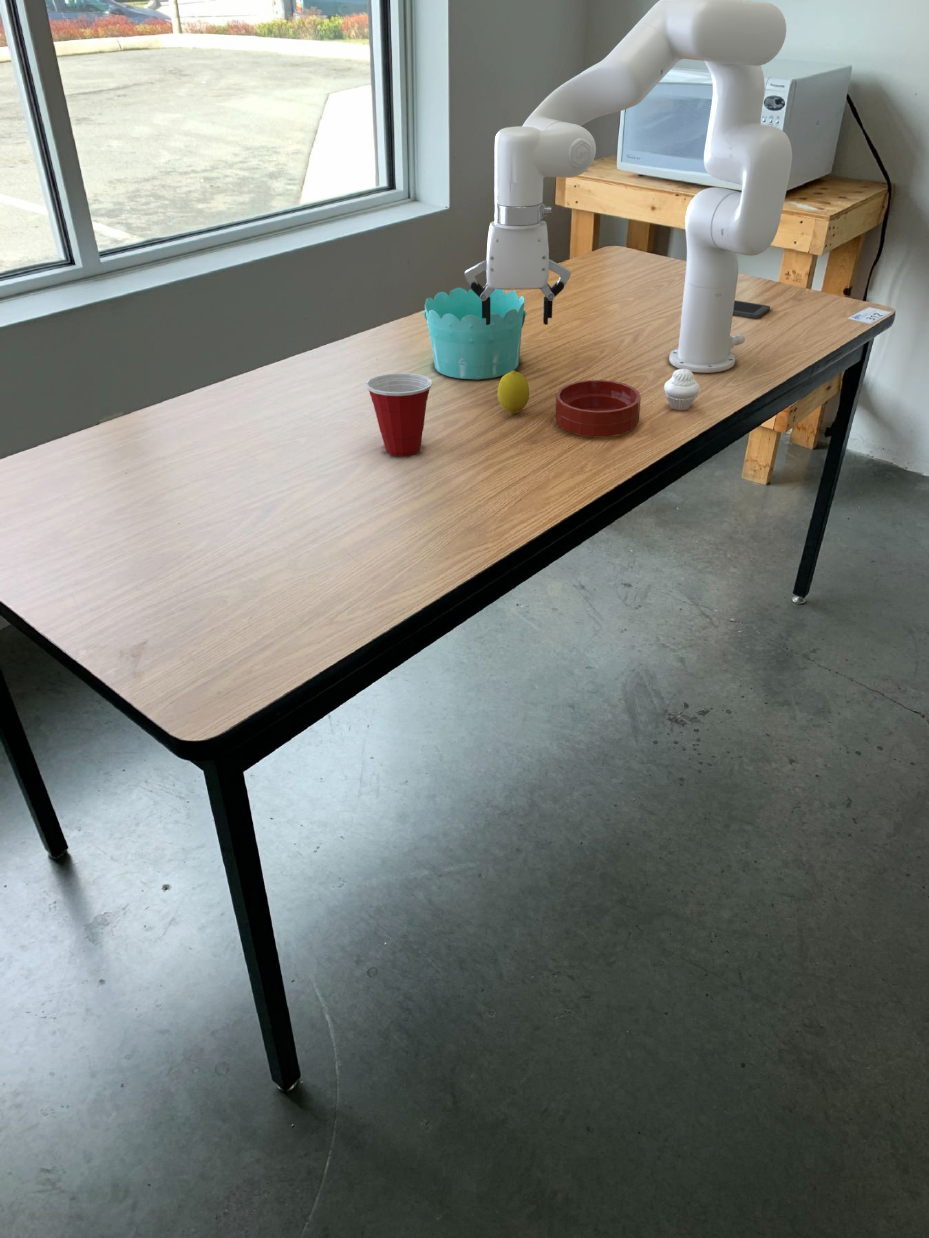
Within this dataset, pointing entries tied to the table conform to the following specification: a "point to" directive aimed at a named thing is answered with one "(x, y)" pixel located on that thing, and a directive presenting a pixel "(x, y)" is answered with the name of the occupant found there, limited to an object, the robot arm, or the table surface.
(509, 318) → the basket
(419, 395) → the plastic cup
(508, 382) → the lemon
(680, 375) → the muffin
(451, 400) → the table surface
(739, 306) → the cell phone
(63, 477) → the table surface
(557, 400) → the bowl
